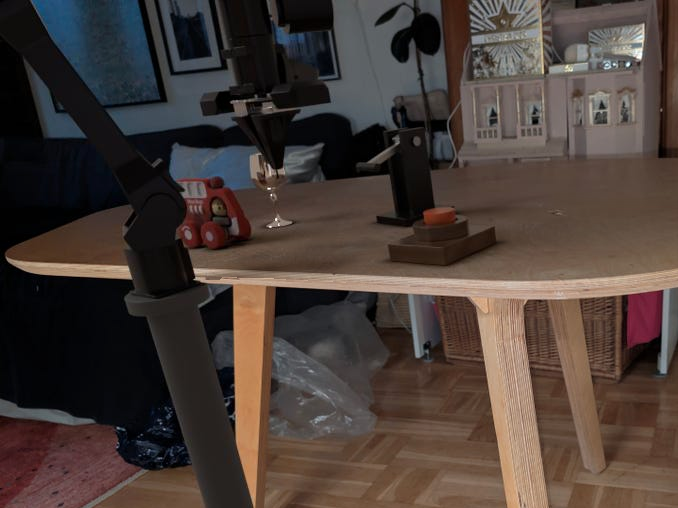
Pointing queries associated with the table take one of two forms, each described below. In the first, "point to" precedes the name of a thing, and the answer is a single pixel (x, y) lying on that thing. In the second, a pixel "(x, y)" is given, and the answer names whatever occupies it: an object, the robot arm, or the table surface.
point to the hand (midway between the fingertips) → (277, 169)
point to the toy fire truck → (211, 213)
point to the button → (439, 216)
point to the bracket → (409, 178)
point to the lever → (380, 157)
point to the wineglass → (268, 182)
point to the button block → (441, 242)
